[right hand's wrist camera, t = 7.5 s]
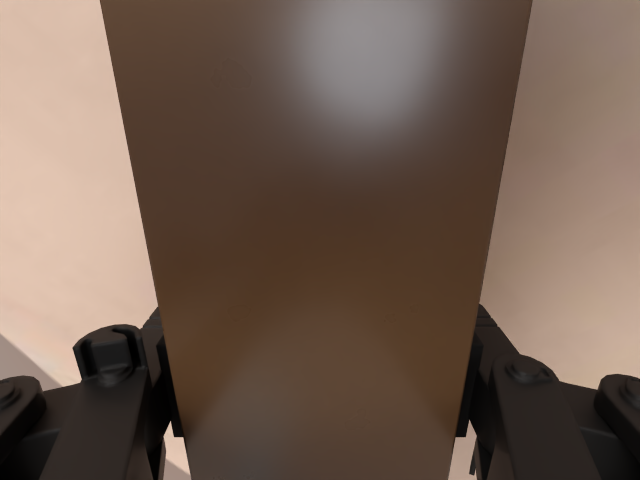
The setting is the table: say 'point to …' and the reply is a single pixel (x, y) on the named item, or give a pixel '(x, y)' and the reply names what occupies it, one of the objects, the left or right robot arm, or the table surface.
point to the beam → (317, 219)
